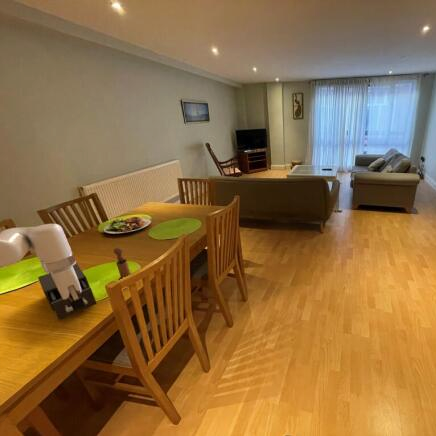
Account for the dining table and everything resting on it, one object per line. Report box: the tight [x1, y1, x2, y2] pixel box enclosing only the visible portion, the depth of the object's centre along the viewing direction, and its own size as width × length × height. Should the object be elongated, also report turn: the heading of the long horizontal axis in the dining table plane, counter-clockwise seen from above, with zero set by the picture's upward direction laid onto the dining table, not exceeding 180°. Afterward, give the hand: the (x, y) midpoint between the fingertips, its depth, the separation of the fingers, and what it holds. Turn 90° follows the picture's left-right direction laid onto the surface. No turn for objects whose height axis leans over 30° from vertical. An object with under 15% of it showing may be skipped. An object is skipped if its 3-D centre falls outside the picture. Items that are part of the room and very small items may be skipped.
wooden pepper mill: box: [113, 246, 132, 281], centre depth 107 cm, size 7×6×18 cm
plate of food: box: [103, 216, 152, 234], centre depth 165 cm, size 28×28×6 cm
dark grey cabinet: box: [37, 263, 91, 313], centre depth 100 cm, size 15×13×10 cm
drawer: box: [49, 280, 98, 322], centre depth 93 cm, size 18×11×8 cm, turn 51°
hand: (79, 307), depth 83 cm, fingers closed
